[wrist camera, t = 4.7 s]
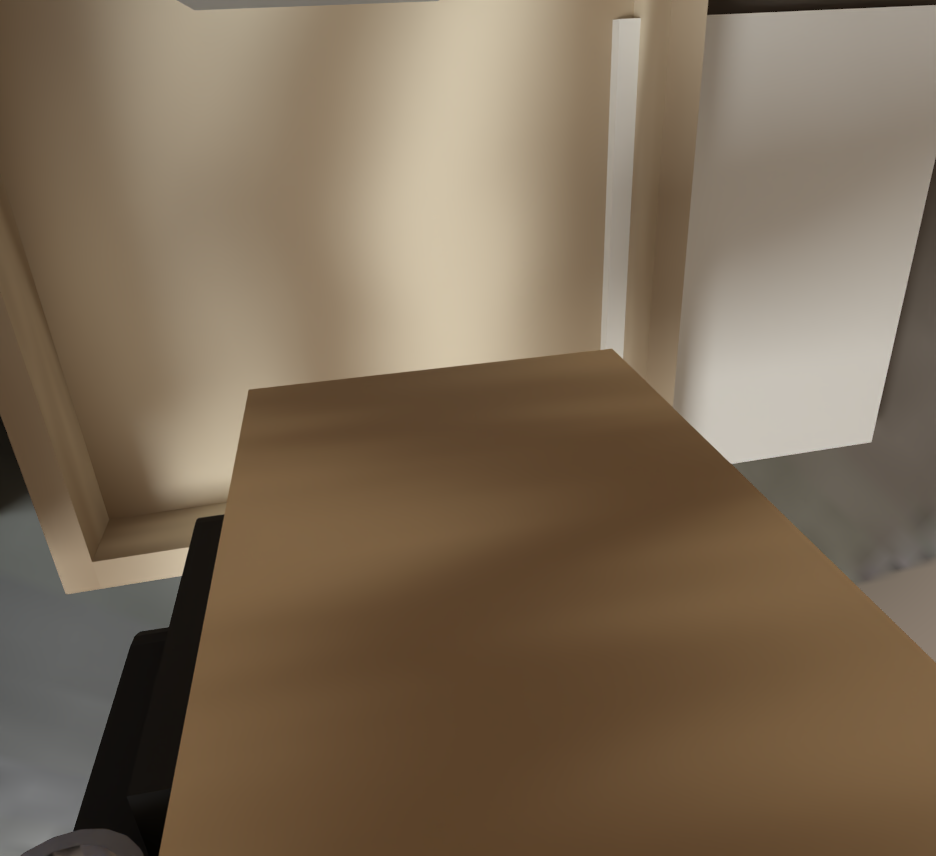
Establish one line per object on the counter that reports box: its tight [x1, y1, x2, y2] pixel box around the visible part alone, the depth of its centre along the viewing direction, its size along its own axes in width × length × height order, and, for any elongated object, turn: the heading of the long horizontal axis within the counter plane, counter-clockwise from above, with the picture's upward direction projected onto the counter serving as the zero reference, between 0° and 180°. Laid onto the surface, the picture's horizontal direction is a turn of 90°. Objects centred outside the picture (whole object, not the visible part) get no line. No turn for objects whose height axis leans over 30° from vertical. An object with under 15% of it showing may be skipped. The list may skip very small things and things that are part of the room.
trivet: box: [600, 5, 936, 464], centre depth 20 cm, size 9×12×1 cm
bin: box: [0, 0, 708, 594], centre depth 16 cm, size 16×20×2 cm
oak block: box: [159, 349, 936, 856], centre depth 8 cm, size 5×5×8 cm
